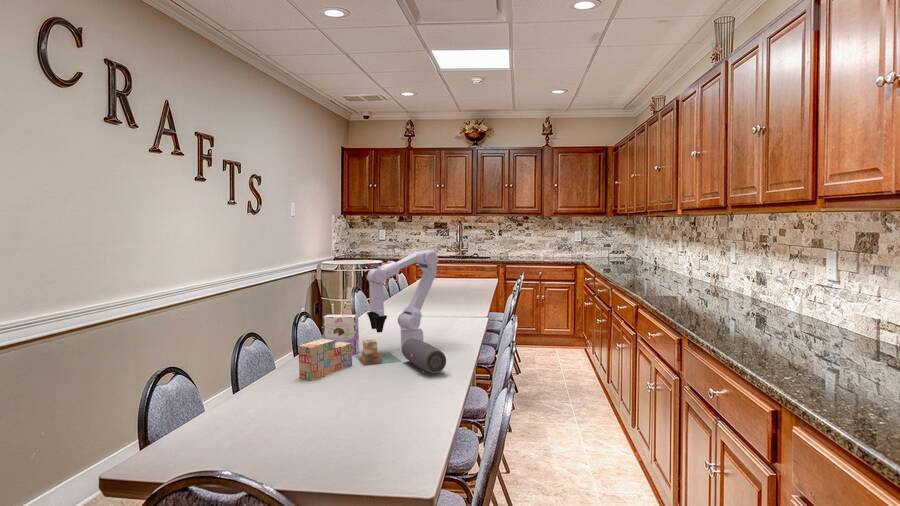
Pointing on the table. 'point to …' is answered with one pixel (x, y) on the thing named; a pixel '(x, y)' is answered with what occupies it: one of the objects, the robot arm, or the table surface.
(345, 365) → the stack of blocks
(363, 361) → the tower base
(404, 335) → the robot arm
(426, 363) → the bluetooth speaker
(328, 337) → the candy box
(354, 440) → the table surface
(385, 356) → the cutting mat
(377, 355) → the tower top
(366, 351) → the oak block
